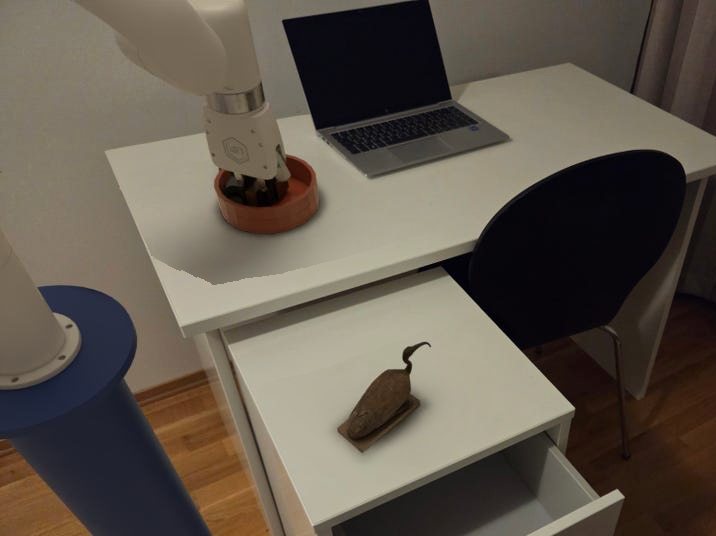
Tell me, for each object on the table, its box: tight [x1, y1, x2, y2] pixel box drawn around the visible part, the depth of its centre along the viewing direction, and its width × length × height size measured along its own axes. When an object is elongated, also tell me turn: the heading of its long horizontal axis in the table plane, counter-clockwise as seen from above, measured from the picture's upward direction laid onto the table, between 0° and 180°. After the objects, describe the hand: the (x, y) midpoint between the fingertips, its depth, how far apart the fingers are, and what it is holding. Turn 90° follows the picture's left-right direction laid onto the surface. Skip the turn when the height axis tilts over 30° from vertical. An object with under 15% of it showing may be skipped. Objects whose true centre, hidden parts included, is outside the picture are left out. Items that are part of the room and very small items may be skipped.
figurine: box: [336, 341, 432, 454], centre depth 76 cm, size 14×4×9 cm, turn 140°
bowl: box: [213, 153, 320, 234], centre depth 102 cm, size 15×15×4 cm
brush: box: [245, 180, 289, 207], centre depth 100 cm, size 8×4×4 cm, turn 164°
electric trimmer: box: [218, 167, 247, 206], centre depth 105 cm, size 4×16×3 cm, turn 20°
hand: (261, 204), depth 100 cm, fingers closed on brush
